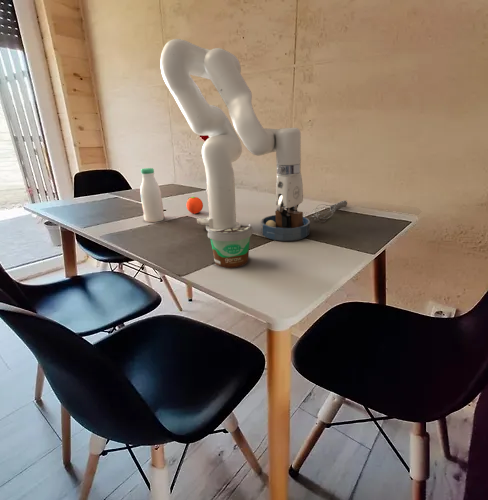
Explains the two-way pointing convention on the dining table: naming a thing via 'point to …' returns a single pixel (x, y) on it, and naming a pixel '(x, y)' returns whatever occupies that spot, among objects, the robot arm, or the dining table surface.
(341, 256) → the dining table surface
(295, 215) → the brown wooden block
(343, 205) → the kitchen whisk
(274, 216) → the bowl
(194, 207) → the clementine
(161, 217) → the milk bottle
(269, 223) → the dough ball
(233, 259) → the food container
